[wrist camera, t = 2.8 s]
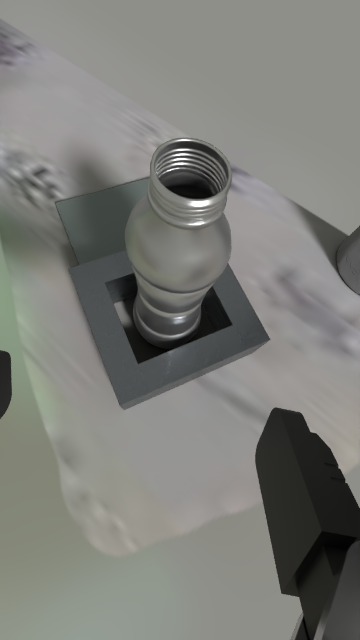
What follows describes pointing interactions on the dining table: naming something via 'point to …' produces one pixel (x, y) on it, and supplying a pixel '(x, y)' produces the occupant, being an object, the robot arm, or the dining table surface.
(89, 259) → the grey-green rectangular panel
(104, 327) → the metal collar
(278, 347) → the dining table surface
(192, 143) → the silver metal bottle
